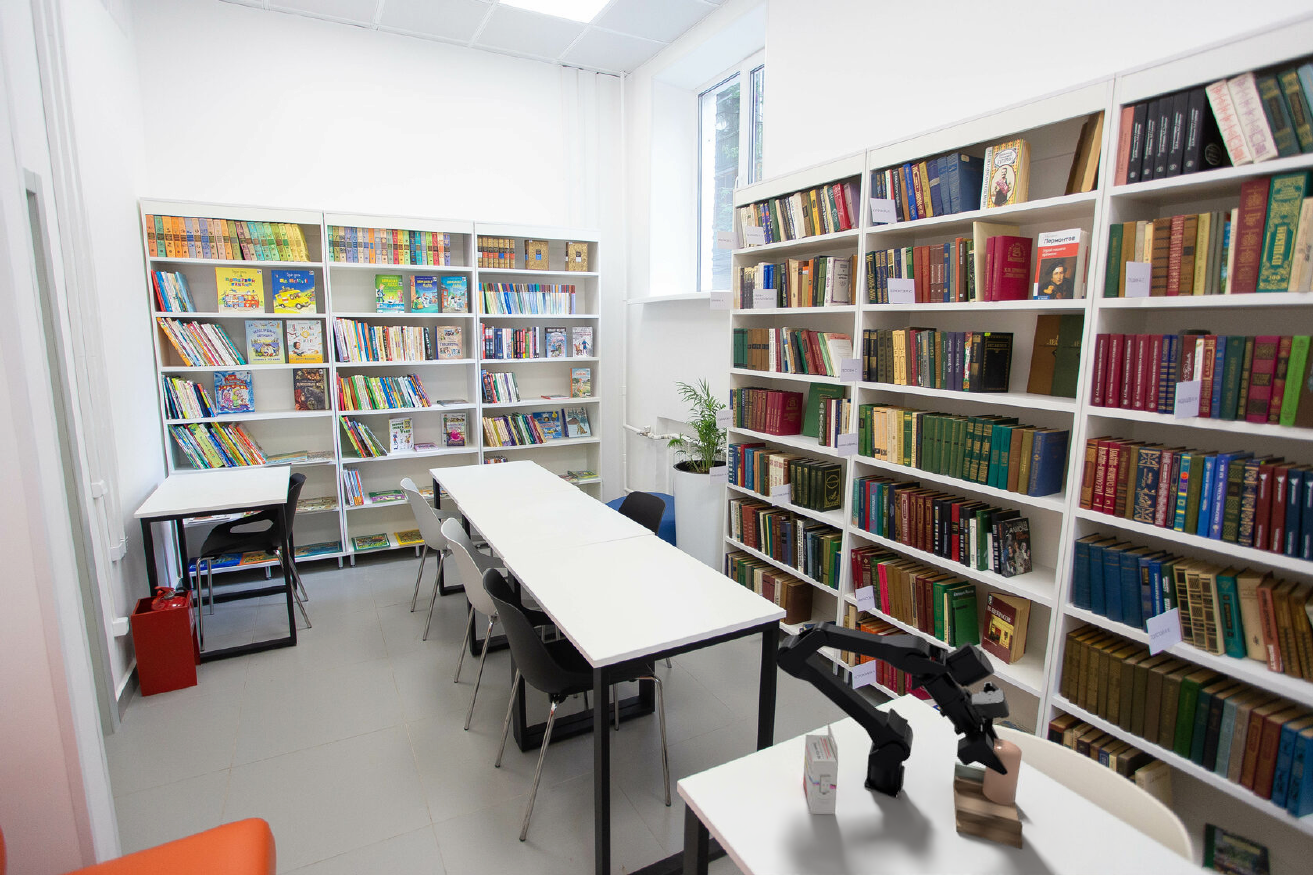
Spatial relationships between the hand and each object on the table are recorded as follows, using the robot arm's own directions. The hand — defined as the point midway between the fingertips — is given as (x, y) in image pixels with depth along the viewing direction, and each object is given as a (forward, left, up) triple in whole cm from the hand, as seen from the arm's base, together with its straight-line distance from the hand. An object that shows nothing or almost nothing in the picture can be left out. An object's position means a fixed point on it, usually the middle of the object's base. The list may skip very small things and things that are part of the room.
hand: (1005, 764), depth 125 cm
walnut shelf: (-2, 0, -12) cm, 12 cm away
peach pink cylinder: (-1, 0, -7) cm, 7 cm away
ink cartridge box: (-31, -14, -12) cm, 36 cm away
